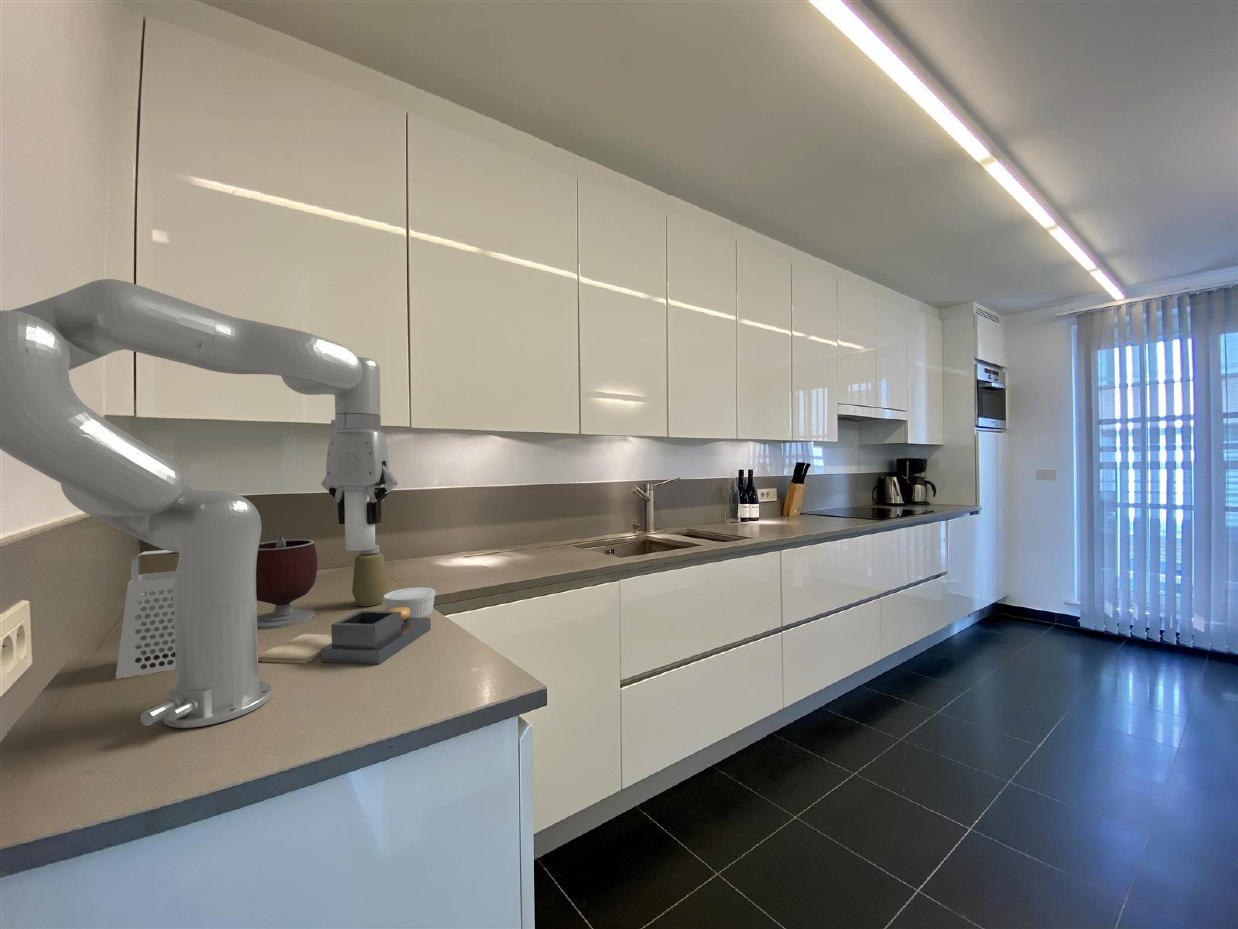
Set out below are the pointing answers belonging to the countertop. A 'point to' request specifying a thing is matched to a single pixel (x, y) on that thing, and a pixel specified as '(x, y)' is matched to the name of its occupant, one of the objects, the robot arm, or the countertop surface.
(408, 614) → the orange rounded lump
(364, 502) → the cylinder
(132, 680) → the countertop surface
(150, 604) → the grater
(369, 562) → the squeeze bottle
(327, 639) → the mat
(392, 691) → the countertop surface
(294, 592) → the mate gourd
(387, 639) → the housing
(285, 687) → the countertop surface
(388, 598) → the ramekin
